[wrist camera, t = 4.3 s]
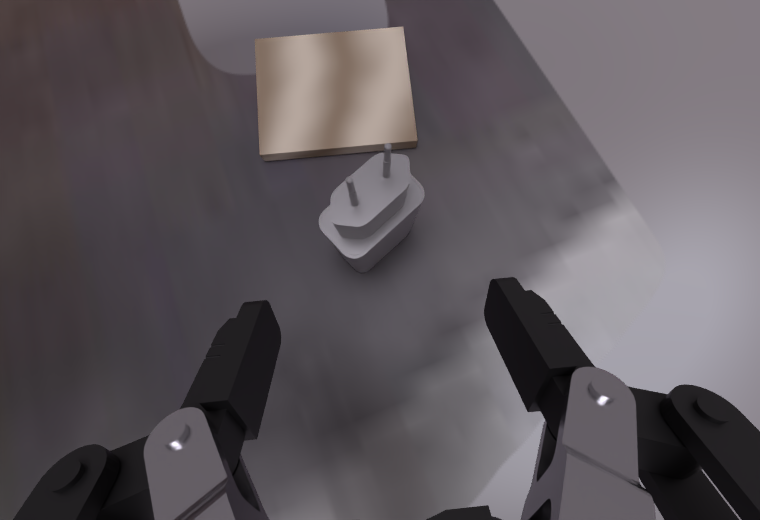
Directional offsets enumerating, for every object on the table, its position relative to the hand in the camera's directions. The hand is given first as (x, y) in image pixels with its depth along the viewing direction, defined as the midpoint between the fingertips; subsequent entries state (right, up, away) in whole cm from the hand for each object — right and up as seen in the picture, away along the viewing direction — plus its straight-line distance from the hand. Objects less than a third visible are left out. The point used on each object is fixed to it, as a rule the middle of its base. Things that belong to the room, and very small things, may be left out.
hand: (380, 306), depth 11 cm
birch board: (-4, +15, +13) cm, 20 cm away
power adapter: (0, +3, +11) cm, 12 cm away
